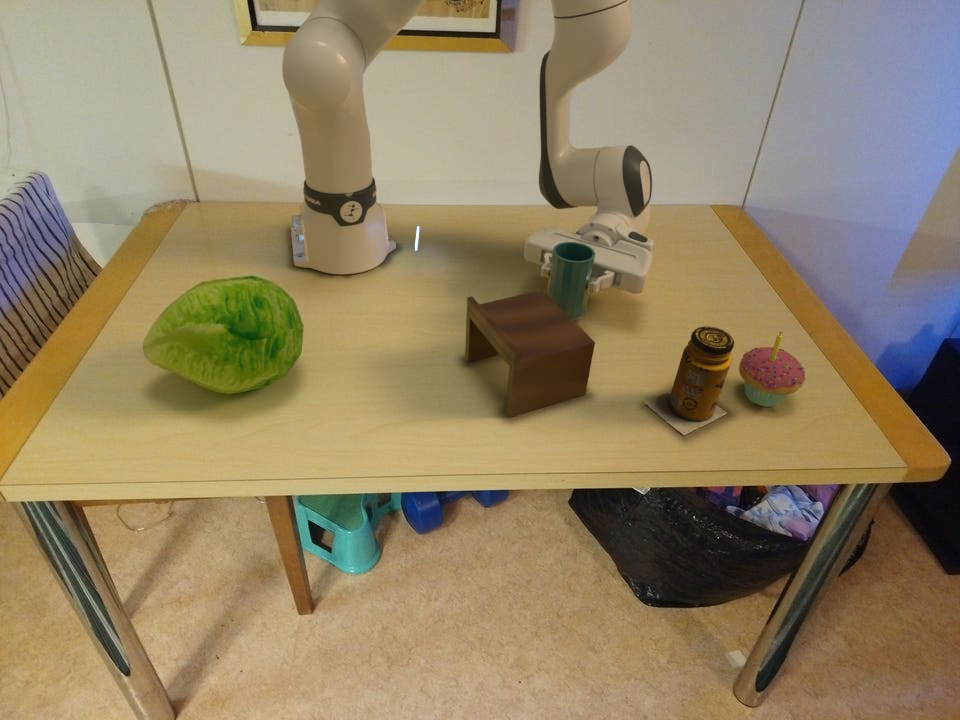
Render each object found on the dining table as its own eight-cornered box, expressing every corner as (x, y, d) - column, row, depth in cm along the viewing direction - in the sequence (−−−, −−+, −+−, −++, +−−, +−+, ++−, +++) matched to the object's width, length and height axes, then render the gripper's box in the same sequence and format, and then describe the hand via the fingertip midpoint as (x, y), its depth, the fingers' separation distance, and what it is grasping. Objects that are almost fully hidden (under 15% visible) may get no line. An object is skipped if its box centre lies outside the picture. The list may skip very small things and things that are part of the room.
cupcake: (773, 424, 88) (804, 353, 81) (718, 392, 93) (742, 322, 86) (804, 398, 93) (836, 328, 85) (750, 369, 97) (776, 300, 90)
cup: (538, 302, 104) (545, 245, 98) (571, 295, 106) (580, 239, 100) (558, 323, 99) (567, 265, 93) (593, 314, 102) (603, 257, 95)
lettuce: (184, 361, 97) (150, 266, 89) (321, 345, 98) (300, 250, 90) (148, 429, 83) (103, 324, 75) (309, 410, 84) (282, 304, 76)
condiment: (727, 414, 89) (753, 342, 82) (683, 436, 85) (707, 363, 78) (686, 384, 94) (707, 314, 87) (644, 404, 90) (662, 333, 83)
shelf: (464, 358, 97) (467, 297, 90) (535, 339, 101) (542, 280, 95) (509, 417, 87) (515, 353, 80) (585, 394, 91) (597, 332, 85)
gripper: (545, 210, 110) (508, 243, 100) (664, 243, 103) (636, 282, 93) (541, 244, 114) (505, 278, 104) (655, 278, 107) (628, 318, 97)
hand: (568, 280), depth 99 cm, fingers closed on cup, 6 cm apart
